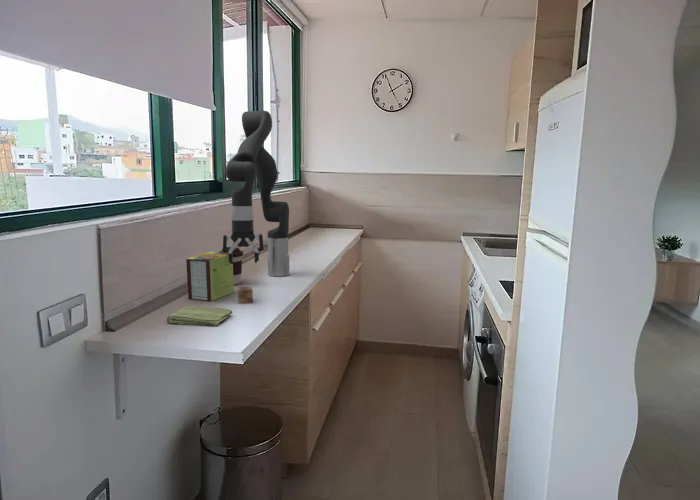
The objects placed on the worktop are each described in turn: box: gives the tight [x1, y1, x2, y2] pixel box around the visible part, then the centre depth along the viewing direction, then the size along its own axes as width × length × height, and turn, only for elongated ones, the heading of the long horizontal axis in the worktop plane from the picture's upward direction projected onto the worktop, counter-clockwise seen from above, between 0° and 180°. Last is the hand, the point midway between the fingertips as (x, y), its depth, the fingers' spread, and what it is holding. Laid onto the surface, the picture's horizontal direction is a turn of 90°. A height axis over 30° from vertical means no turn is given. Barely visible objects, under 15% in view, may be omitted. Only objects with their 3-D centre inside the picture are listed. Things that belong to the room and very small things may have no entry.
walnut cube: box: [237, 286, 254, 305], centre depth 182 cm, size 5×5×5 cm
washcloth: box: [166, 305, 233, 327], centre depth 161 cm, size 13×18×3 cm
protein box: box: [185, 251, 235, 302], centre depth 189 cm, size 10×15×16 cm
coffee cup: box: [218, 246, 244, 285], centre depth 208 cm, size 10×10×15 cm
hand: (243, 263), depth 180 cm, fingers open, 8 cm apart
